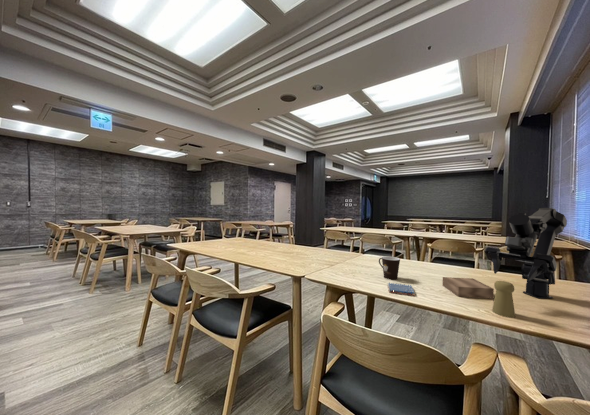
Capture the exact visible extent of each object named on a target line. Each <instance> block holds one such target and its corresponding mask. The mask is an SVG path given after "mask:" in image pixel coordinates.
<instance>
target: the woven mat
mask: <svg viewBox="0 0 590 415" xmlns="http://www.w3.org/2000/svg"><path fill="white" fill-rule="evenodd" d="M387 288H388V291H389V292H388V293H389V294H394V293H397V294H396V295H402V294H403V295H404V296H411V297H412V296H413V297H416V294H415V290H414V288H413V286H412V285H410V284H402V283H393V282H388V283H387ZM393 290H394V292H393Z"/></svg>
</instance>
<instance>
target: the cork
mask: <svg viewBox="0 0 590 415" xmlns="http://www.w3.org/2000/svg"><path fill="white" fill-rule="evenodd" d="M493 285H494V286H493V288H495V289H494V290H495V293H494V294H495V295H494V297H493V304H492V310H491V311H492V313H494V314H496V315H497V316H502V317H505V318H515V317H516V310H515V305H514V298H513V297H514V296H513V293H514V292H515V285H514V284H513V283H511V282H509V281H505V280H496V281H495V282H494V284H493Z"/></svg>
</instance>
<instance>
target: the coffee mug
mask: <svg viewBox="0 0 590 415" xmlns="http://www.w3.org/2000/svg"><path fill="white" fill-rule="evenodd" d="M400 262H401V259H400V258H399V257H396V256H391V255H390V256H388V255H387V256H385V255H384V256H381V257H380V258H379V259H378V264H379V265H380V266H381V268H382V271H383V278H384V279H386V280H391V281H392V280H393V281H396V280H398V275H399V269H400ZM381 263H382V264H381Z"/></svg>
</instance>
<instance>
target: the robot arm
mask: <svg viewBox="0 0 590 415" xmlns="http://www.w3.org/2000/svg"><path fill="white" fill-rule="evenodd" d="M536 210H537V211H535V212H534V213H533V214H531V215H529V216H528V215H527V213H526V212H518V213H517V214H514V215H512V216H510V217H508V223H509V226H510V228H511V230H512V233H513V234H515V236H506V237H505V242H504V246H506V251H507V252H504V251H501V249H500V248H499V247H493V246H492V247H491V246H487V247H485V248H484V253H485V255H486V258H487V259H488V261H490V262H491V263H492V266H493V273H494V274H495V275H496V274H497V273H498V272H499V269H500V267H501V264H502V262H501V261H502V260H503V259H509V260H515V261H518V262H523V264H522V265H521V278H522V279H523V280H526V283H525V291H524V290H522V293H523V294H525V295H528V296H531V297H534V298H536V299H554V297H553V296H551V295H550V286H551V285H556V277H555V273H554V272H556V271H557V268H558V265H557V261H556V258H555V257H554V256H553V255H552V254H551V253H552V249H553V247H554V246H553V245H554V242H555V239H556V236H558V235H559V234H561V233H563V232H564V228H566V227H567V224H568V223H567V222H568V220H567V217H566V216H565V214H564V213H561V212H558V210H556V208H553V207H541V208H537V209H536ZM537 234H539V236H538V235H537ZM537 238H538V239H537ZM535 244H536V245H535ZM534 246H535V249H534ZM531 255H532V256H531Z"/></svg>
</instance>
